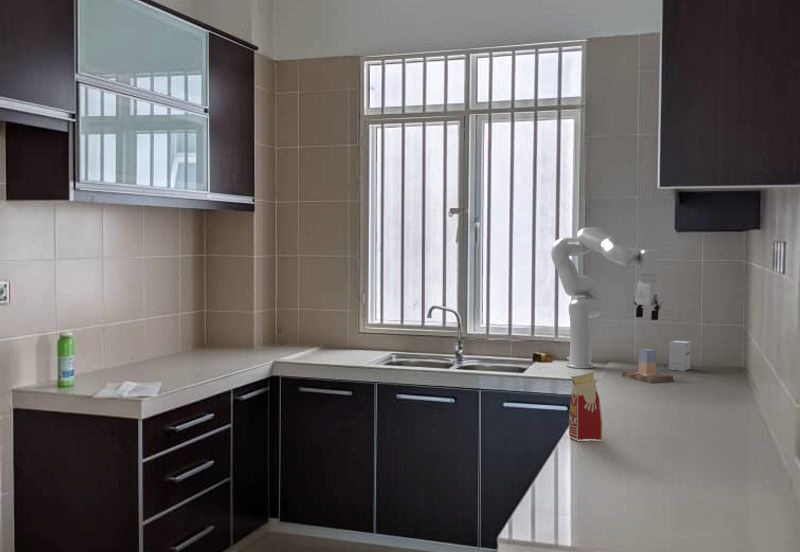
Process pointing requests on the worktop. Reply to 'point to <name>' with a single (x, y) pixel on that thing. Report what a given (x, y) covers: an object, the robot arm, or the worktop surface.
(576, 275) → the robot arm
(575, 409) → the milk carton
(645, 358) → the slate block
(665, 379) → the board
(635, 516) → the worktop surface
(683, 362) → the supplement box
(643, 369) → the terracotta block
